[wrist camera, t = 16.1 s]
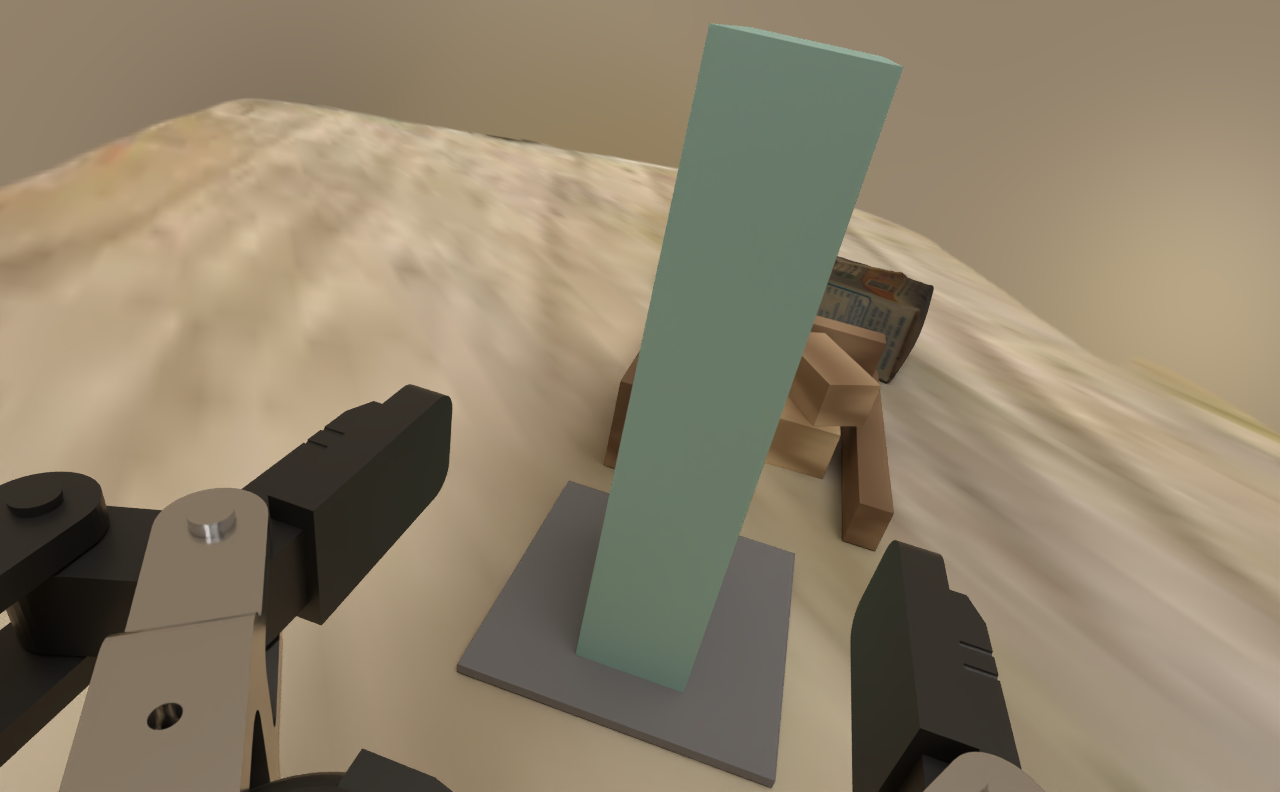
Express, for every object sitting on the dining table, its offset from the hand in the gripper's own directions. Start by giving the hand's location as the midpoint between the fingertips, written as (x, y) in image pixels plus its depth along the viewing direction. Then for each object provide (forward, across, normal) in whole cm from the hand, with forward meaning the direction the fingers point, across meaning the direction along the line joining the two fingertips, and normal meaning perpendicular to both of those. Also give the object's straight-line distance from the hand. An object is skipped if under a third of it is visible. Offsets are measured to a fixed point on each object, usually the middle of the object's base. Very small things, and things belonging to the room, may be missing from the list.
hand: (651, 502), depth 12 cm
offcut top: (+26, -5, +10) cm, 29 cm away
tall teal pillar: (+10, 0, +13) cm, 16 cm away
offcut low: (+26, -5, +13) cm, 30 cm away
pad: (+10, 0, +13) cm, 16 cm away
